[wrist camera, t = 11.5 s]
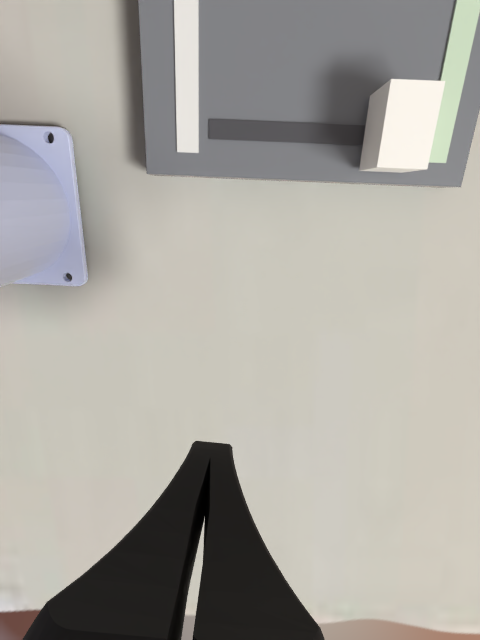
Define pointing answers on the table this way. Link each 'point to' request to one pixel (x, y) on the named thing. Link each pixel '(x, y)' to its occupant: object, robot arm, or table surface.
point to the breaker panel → (300, 85)
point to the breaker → (401, 125)
